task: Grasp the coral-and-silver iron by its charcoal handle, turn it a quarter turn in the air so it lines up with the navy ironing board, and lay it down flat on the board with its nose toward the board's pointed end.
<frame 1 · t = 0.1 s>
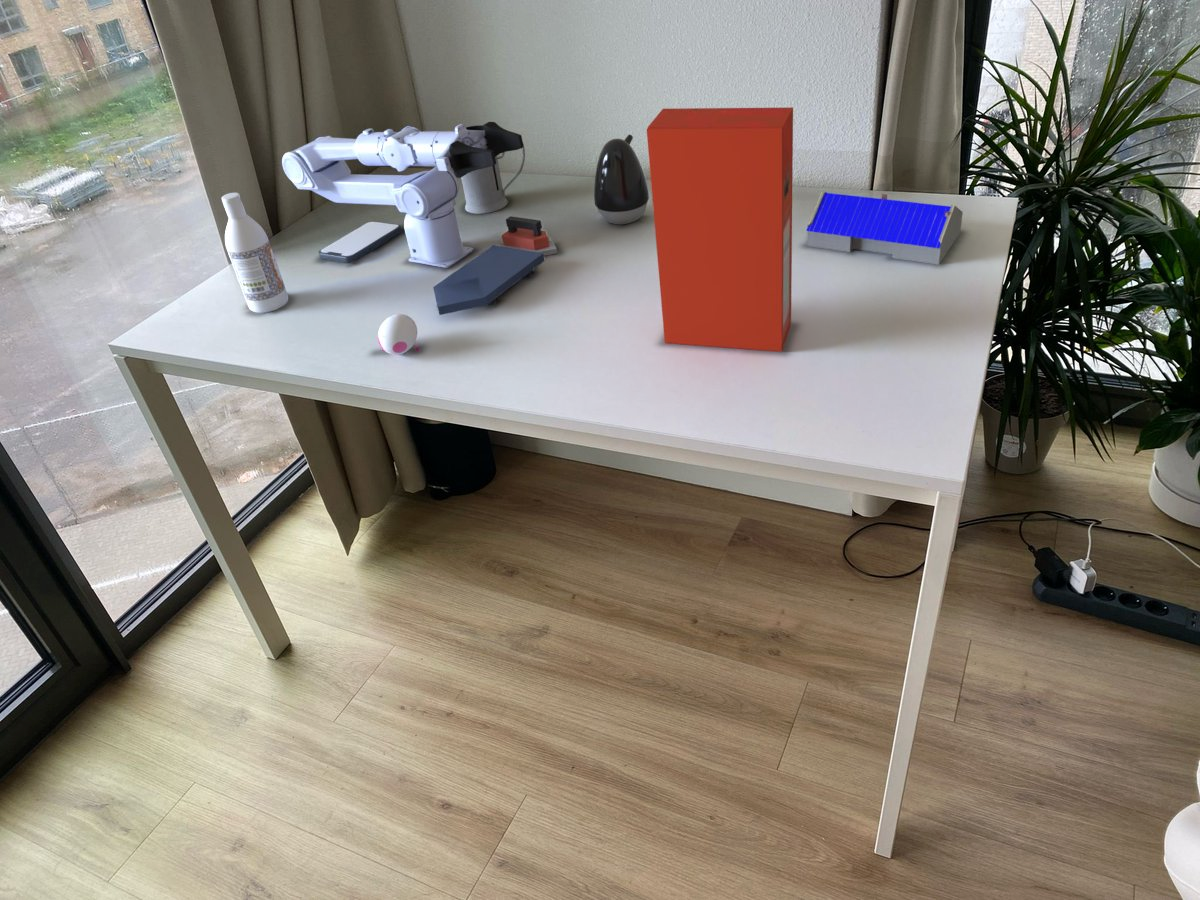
hand: (507, 149, 150), 22 cm above the table, tool horizontal, fingers open, 7 cm apart
iron: (530, 249, 170), on the table
smartphone with white screen: (362, 246, 181), on the table
black egg-shaped figure: (624, 219, 177), on the table
blue roofed model house: (882, 240, 157), on the table
ironing board: (487, 289, 159), on the table
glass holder: (499, 205, 190), on the table
bath foam: (269, 305, 164), on the table
stress ball: (398, 351, 145), on the table
file binder: (727, 336, 138), on the table
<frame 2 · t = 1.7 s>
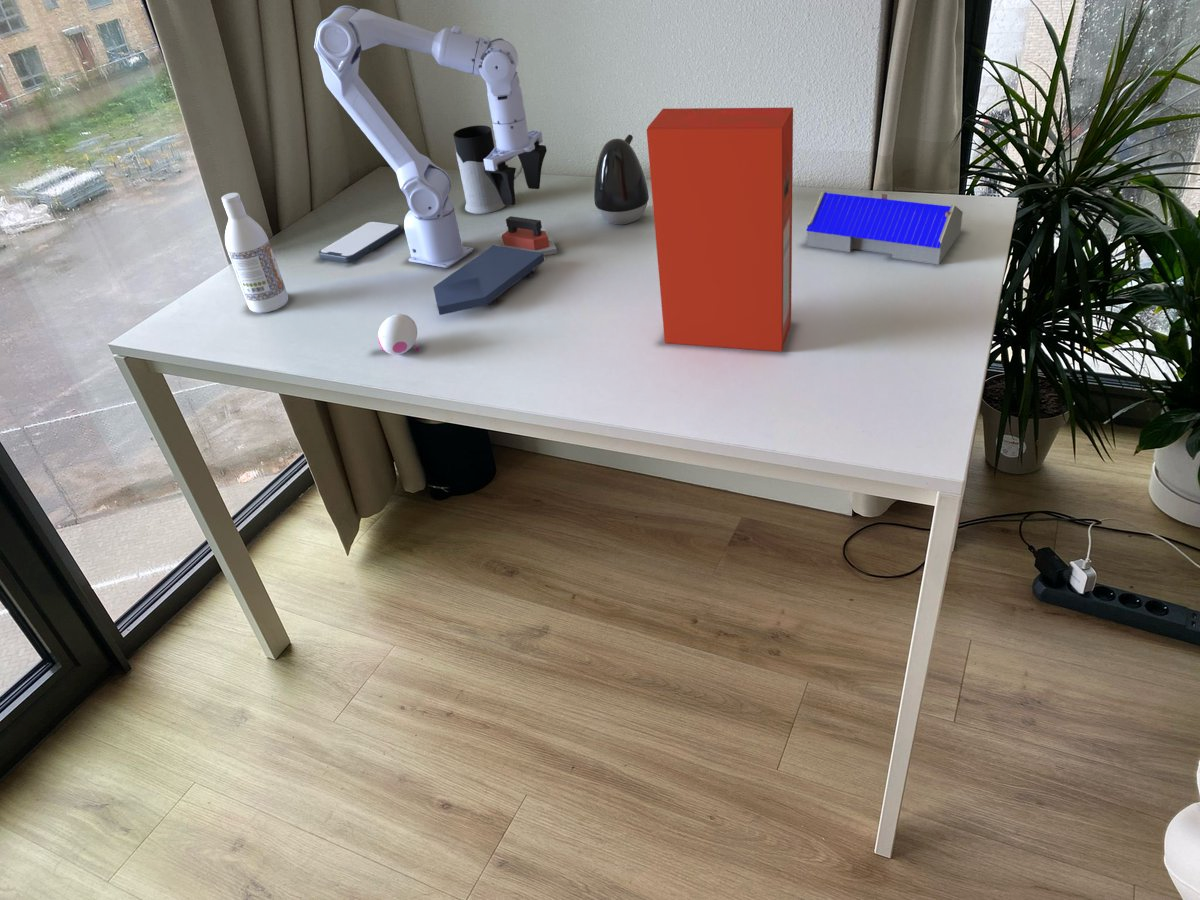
hand: (521, 196, 164), 10 cm above the table, tool pointing down, fingers open, 7 cm apart
nothing on the table moved.
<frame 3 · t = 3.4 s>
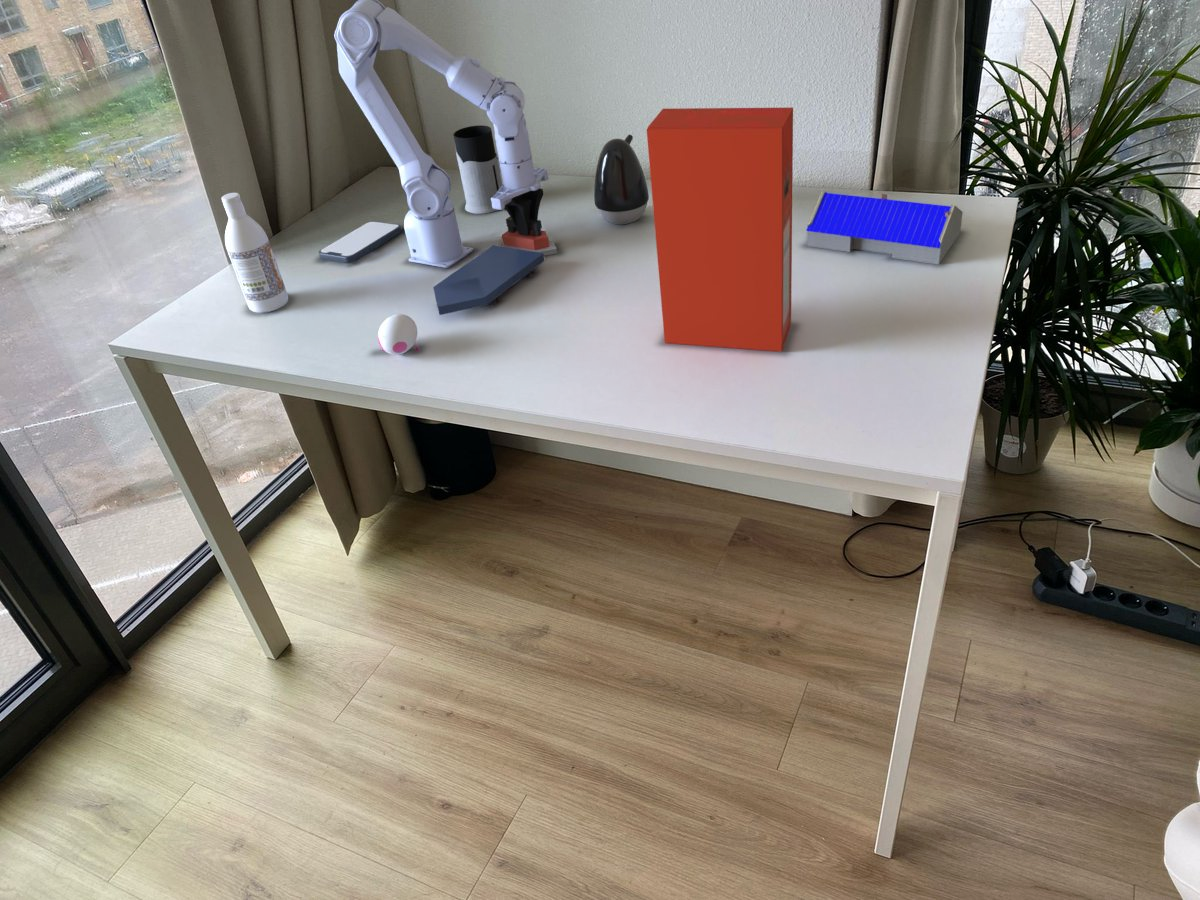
hand: (527, 232, 168), 3 cm above the table, tool pointing down, fingers closed on iron
iron: (530, 249, 170), on the table, touching gripper
everything else where it was.
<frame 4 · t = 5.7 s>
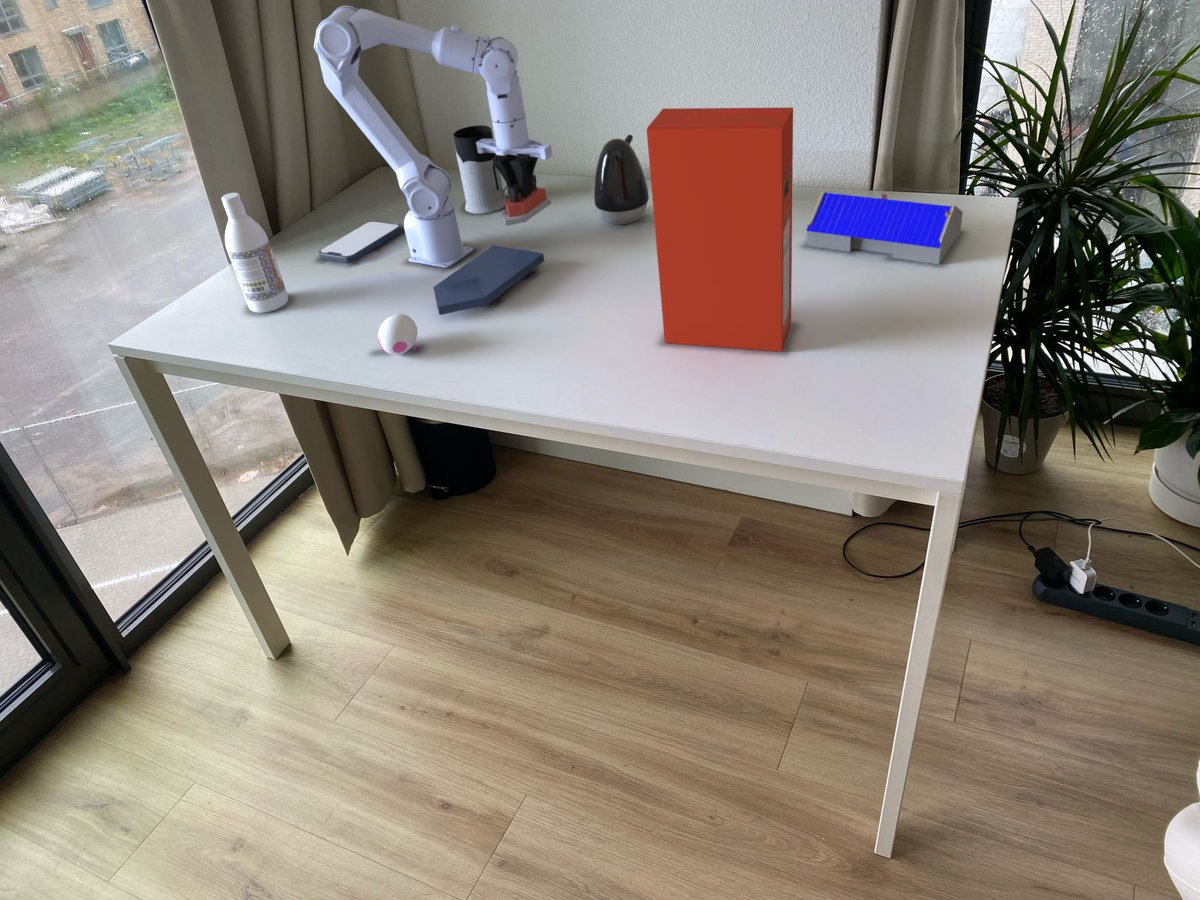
hand: (521, 195, 164), 10 cm above the table, tool pointing down, fingers closed on iron
iron: (524, 212, 166), point 7 cm above the table, touching gripper
everything else where it was.
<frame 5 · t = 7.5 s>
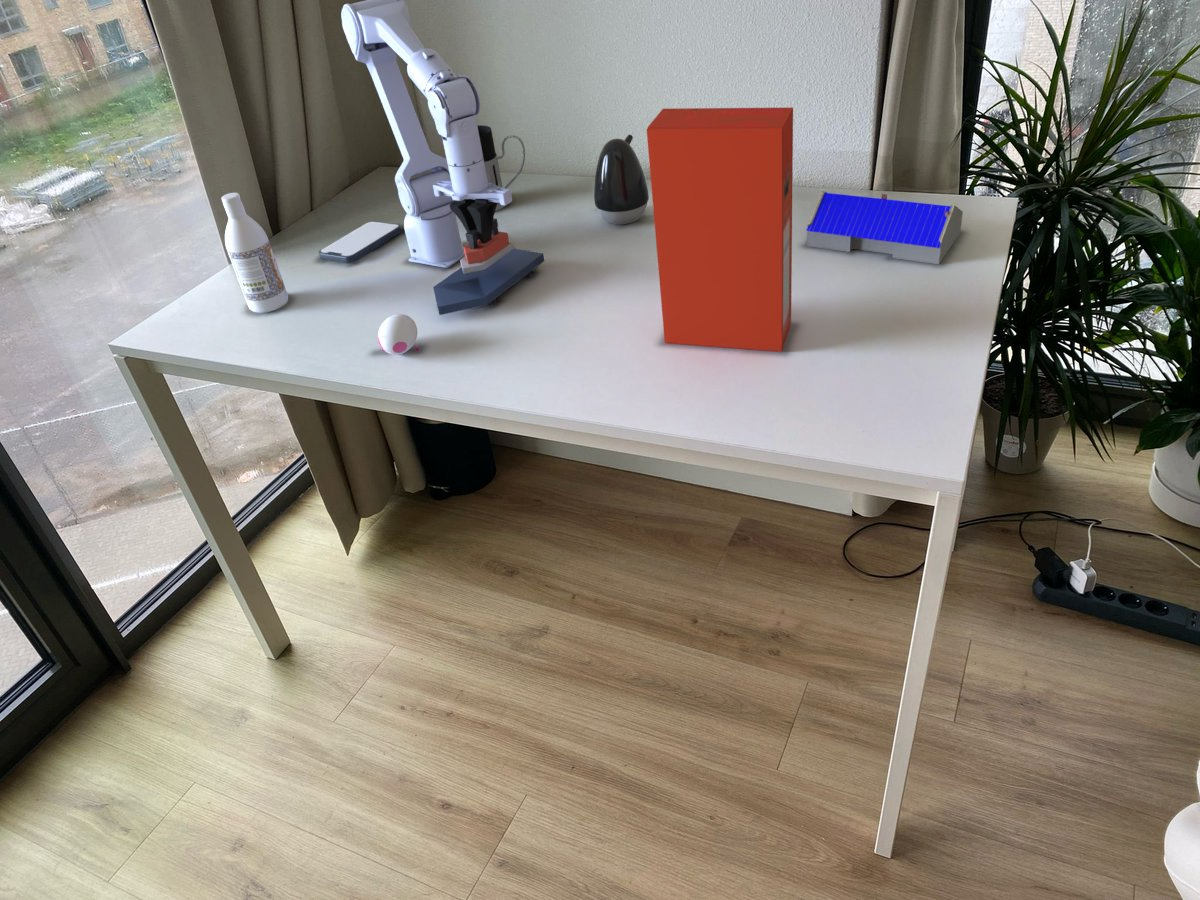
hand: (481, 240, 155), 9 cm above the table, tool pointing down, fingers closed on iron
iron: (485, 258, 157), point 5 cm above the table, touching gripper
everything else where it was.
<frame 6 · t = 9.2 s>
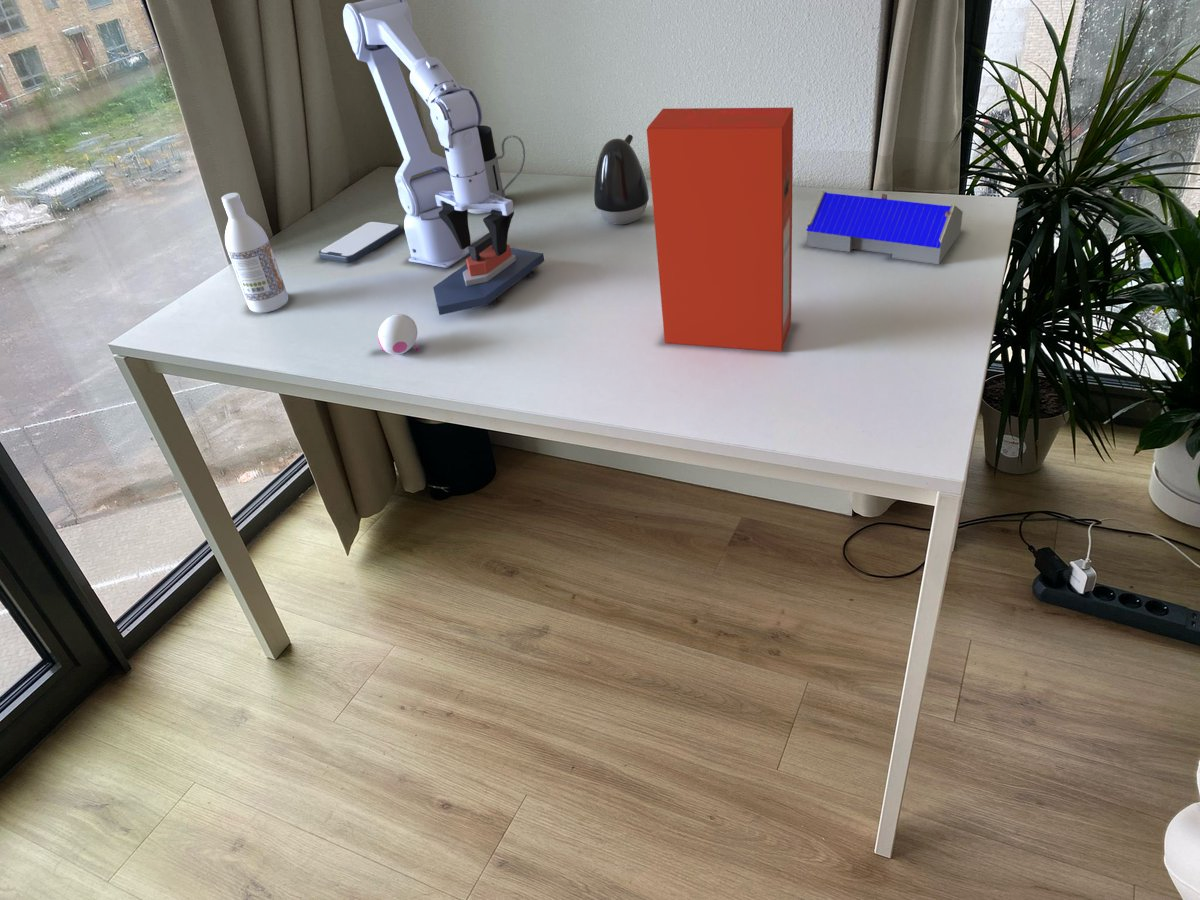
hand: (483, 250, 156), 7 cm above the table, tool pointing down, fingers open, 7 cm apart
iron: (487, 270, 158), point 3 cm above the table, touching ironing board
everything else where it was.
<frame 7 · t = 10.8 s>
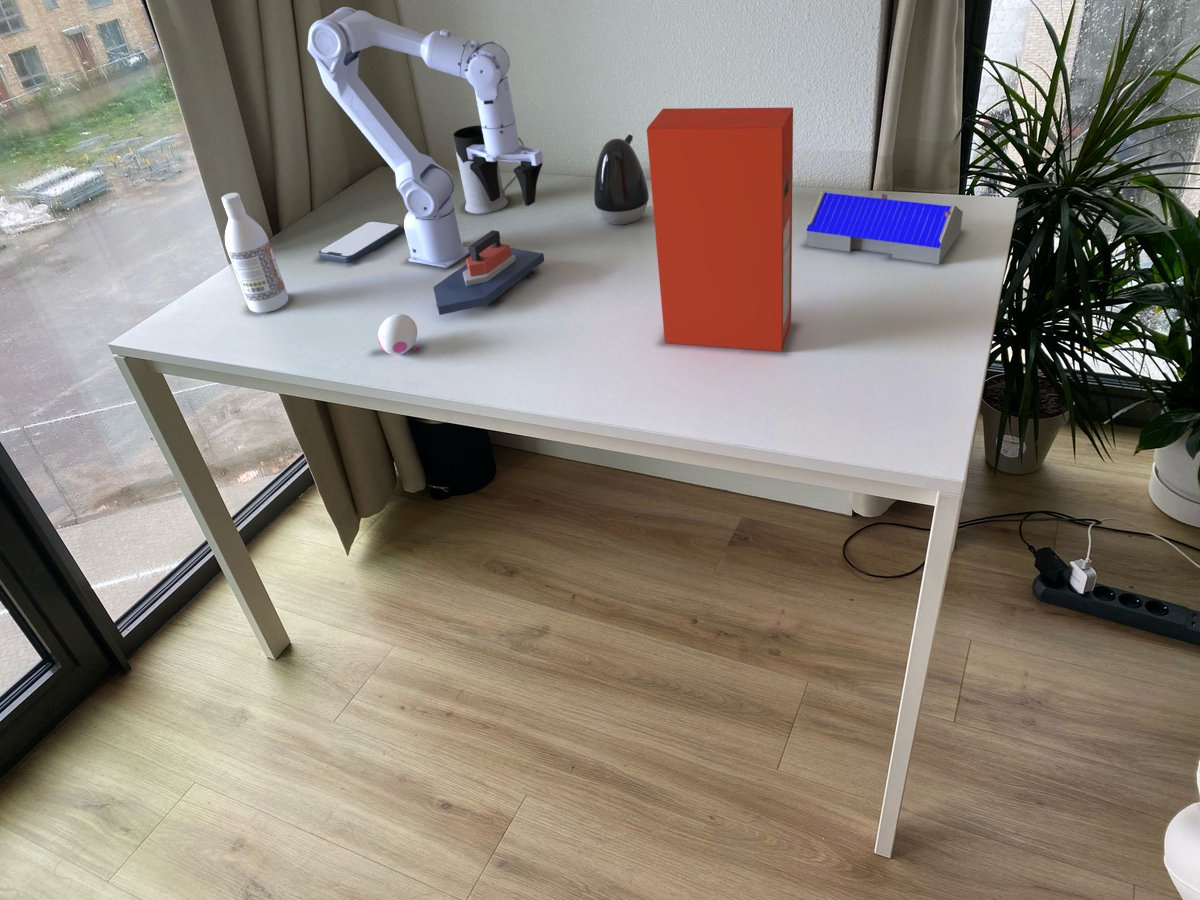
hand: (512, 201, 162), 10 cm above the table, tool pointing down, fingers open, 7 cm apart
nothing on the table moved.
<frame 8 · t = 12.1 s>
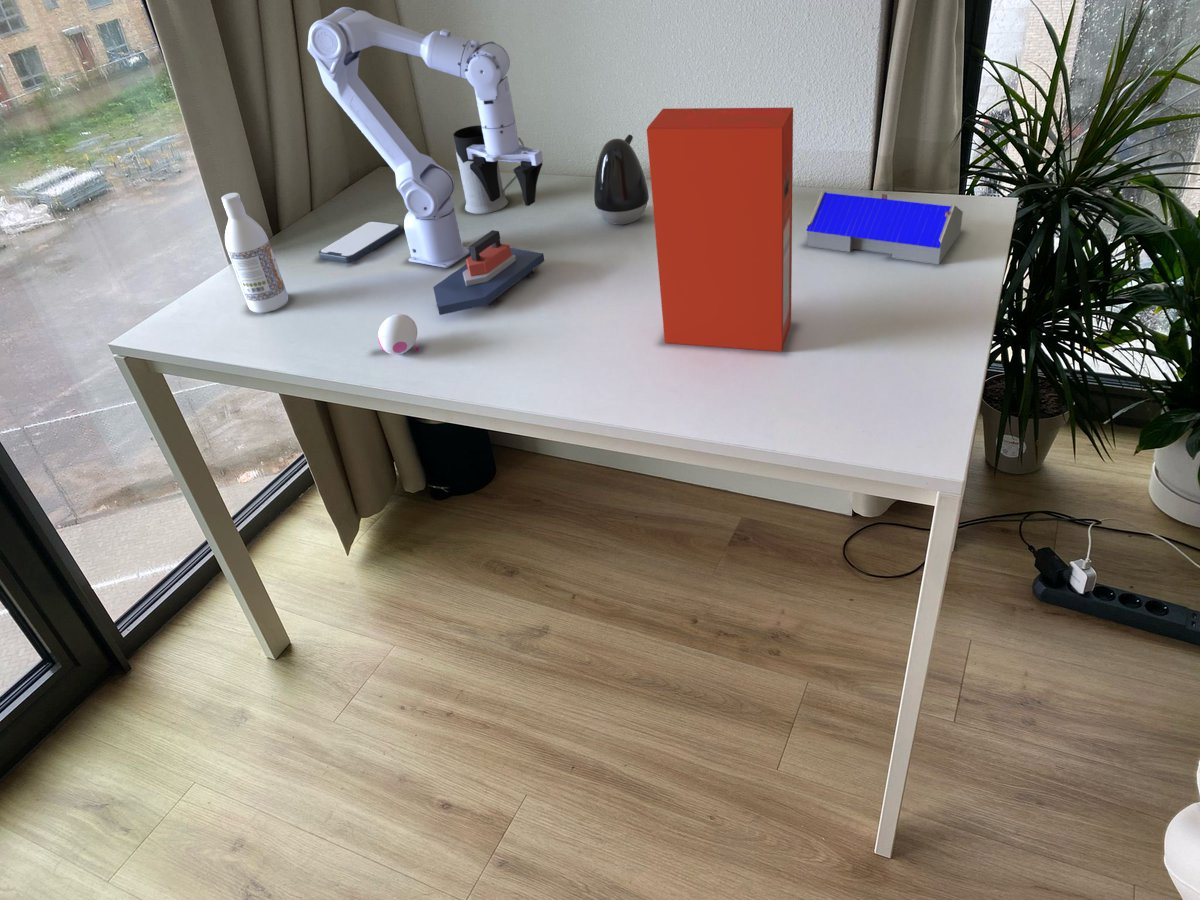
hand: (512, 201, 162), 10 cm above the table, tool pointing down, fingers open, 7 cm apart
nothing on the table moved.
at the end: iron inside the target area on the ironing board (0.5 cm from its centre), point 3.0 cm above the ironing board's base; iron tilted 0°; the gripper is holding nothing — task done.
